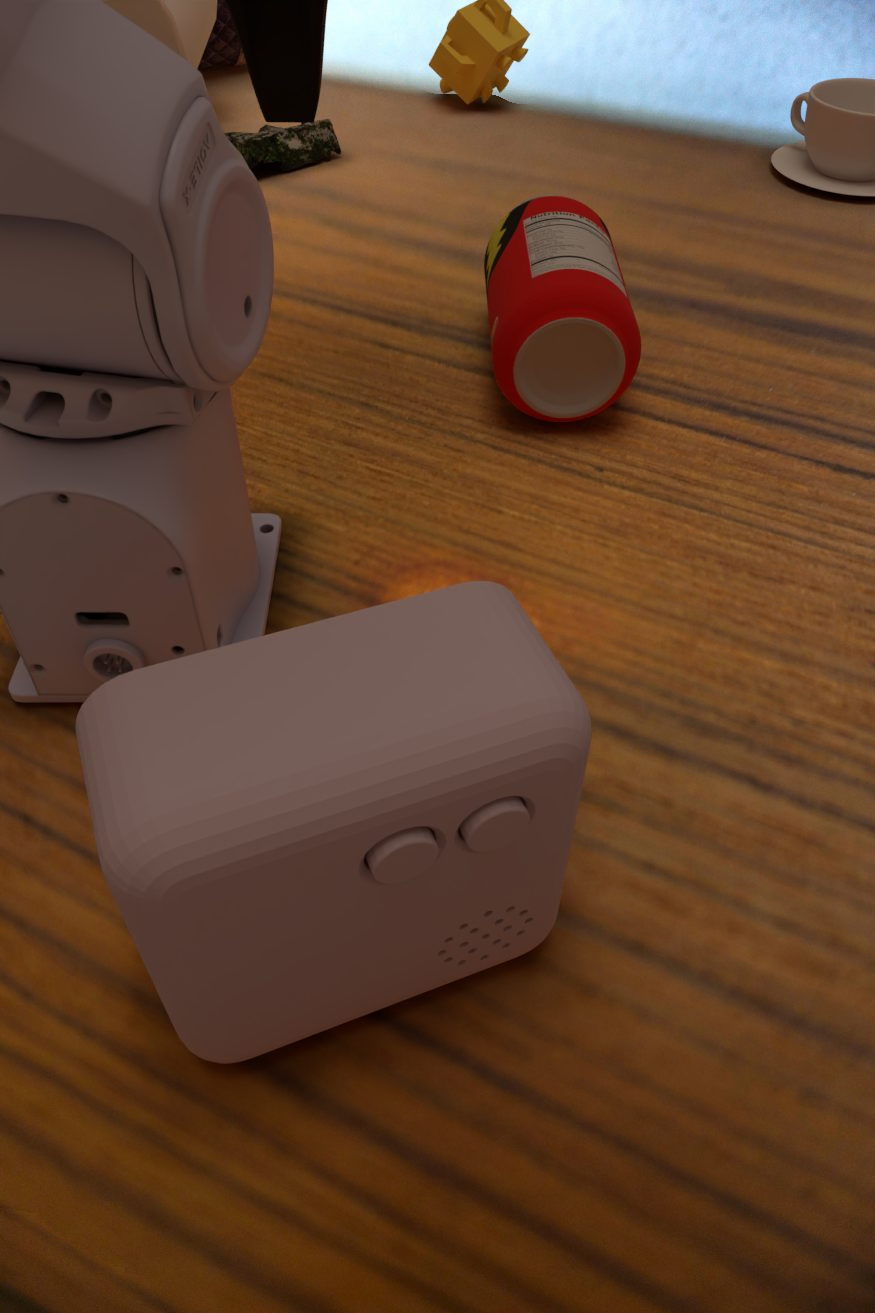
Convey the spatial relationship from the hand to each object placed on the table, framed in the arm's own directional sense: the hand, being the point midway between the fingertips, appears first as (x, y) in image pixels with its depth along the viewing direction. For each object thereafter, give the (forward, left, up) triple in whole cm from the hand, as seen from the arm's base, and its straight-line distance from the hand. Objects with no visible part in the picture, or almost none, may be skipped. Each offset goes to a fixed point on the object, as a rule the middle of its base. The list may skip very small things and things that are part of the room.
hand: (291, 117), depth 40 cm
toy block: (+37, -11, -9) cm, 39 cm away
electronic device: (-32, -4, -11) cm, 34 cm away
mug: (+42, +20, -7) cm, 47 cm away
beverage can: (-8, -12, -7) cm, 16 cm away
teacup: (+23, -33, -11) cm, 42 cm away
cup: (+43, +11, +1) cm, 44 cm away
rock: (+18, +9, -9) cm, 22 cm away
